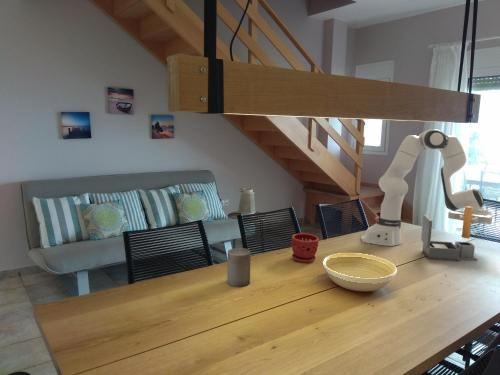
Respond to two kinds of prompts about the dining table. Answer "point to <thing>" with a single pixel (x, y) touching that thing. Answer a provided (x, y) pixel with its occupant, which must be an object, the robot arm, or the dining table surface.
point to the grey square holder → (466, 250)
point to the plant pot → (304, 247)
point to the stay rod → (467, 222)
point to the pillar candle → (239, 267)
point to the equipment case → (437, 245)
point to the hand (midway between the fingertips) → (467, 219)
